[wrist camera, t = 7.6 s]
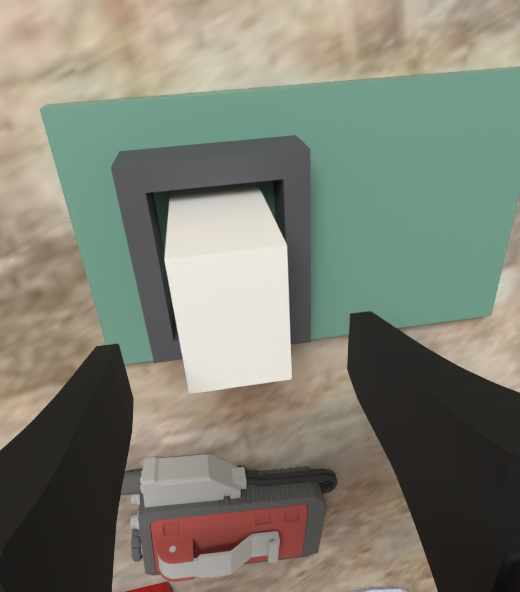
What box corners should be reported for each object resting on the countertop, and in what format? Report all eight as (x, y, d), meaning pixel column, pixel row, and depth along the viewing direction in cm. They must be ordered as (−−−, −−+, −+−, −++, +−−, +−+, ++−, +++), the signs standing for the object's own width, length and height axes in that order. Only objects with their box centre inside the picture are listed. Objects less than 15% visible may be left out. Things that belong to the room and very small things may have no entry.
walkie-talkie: (335, 435, 30) (4, 463, 27) (357, 493, 26) (-25, 533, 23) (321, 520, 34) (35, 552, 31) (338, 581, 30) (15, 623, 28)
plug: (254, 178, 19) (287, 245, 13) (262, 283, 22) (291, 379, 16) (170, 187, 19) (164, 259, 13) (187, 292, 21) (189, 394, 15)
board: (533, 65, 20) (596, 72, 17) (481, 306, 26) (520, 342, 23) (46, 105, 18) (18, 119, 15) (114, 354, 24) (104, 401, 21)
